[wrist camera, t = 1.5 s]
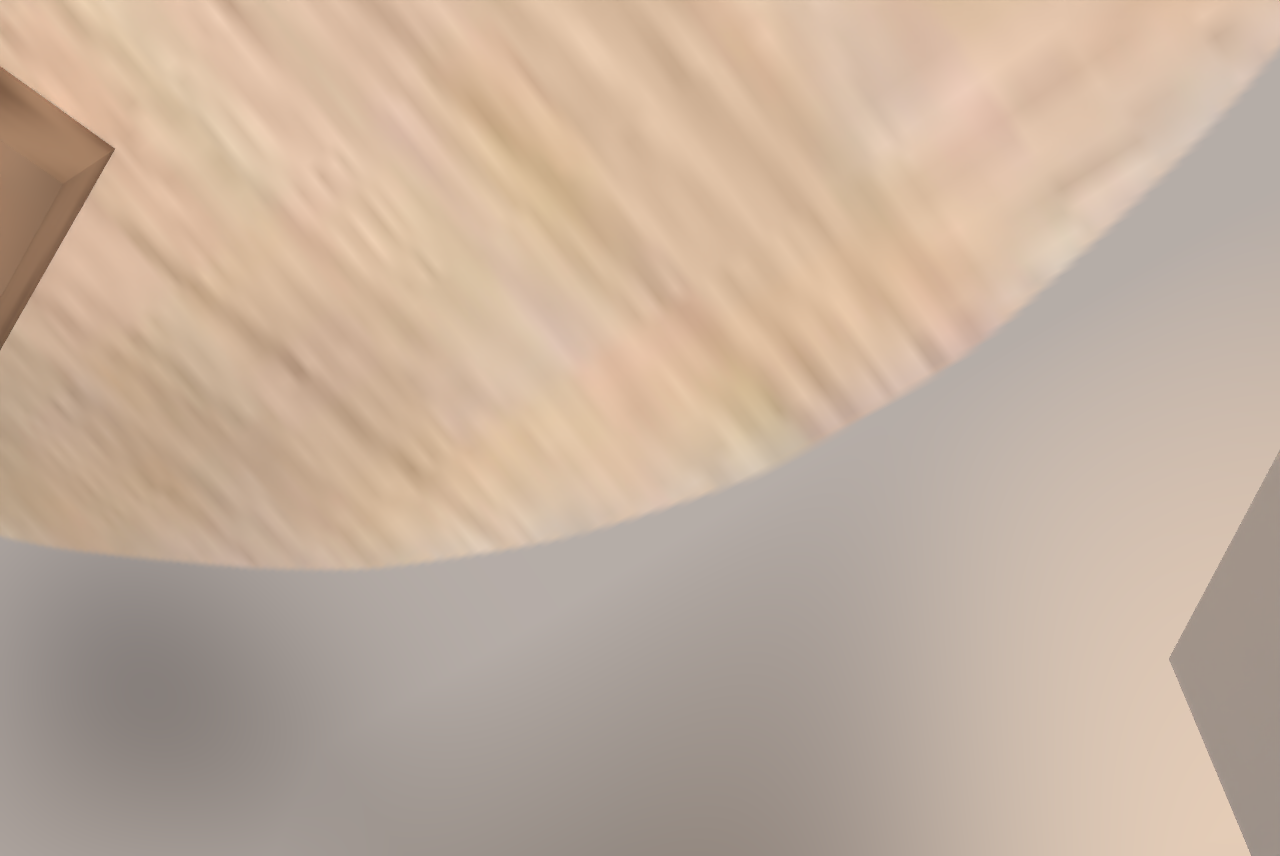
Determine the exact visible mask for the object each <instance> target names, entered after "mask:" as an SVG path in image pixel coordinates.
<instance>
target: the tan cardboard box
mask: <svg viewBox="0 0 1280 856" xmlns="http://www.w3.org/2000/svg"><path fill="white" fill-rule="evenodd" d="M114 150H115V149H114V148H113V147H111V146H110V145H109V144H107V143H106V142H105V141H103V140H102V139H100V138H99V137H98V136H96V135H95V134H93V133H92V132H91V131H89V130H88V129H86V128H85V127H84V126H82V125H81V124H79V123H78V122H77V121H75V120H74V119H72V118H71V117H70V116H68V115H67V114H66V113H64V112H63V111H61V110H60V109H59V108H57V107H56V106H54V105H53V104H52V103H50V102H49V101H47V100H46V99H45V98H43V97H42V96H40V95H39V94H38V93H36V92H35V91H33V90H32V89H31V88H29V87H28V86H27V85H25V84H24V83H22V82H21V81H20V80H18V79H17V78H15V77H14V76H13V75H11V74H10V73H8V72H7V71H6V70H4V69H3V68H1V67H0V349H1V348H2V346H3V344H4V342H5V341H6V339H7V337H8V335H9V334H10V332H11V330H12V328H13V327H14V325H15V323H16V321H17V320H18V318H19V316H20V314H21V313H22V311H23V309H24V307H25V306H26V304H27V302H28V300H29V299H30V297H31V295H32V293H33V292H34V290H35V288H36V286H37V284H38V283H39V281H40V279H41V277H42V276H43V274H44V272H45V270H46V269H47V267H48V265H49V263H50V262H51V260H52V258H53V256H54V255H55V253H56V251H57V249H58V248H59V246H60V244H61V242H62V241H63V239H64V237H65V235H66V234H67V232H68V230H69V228H70V227H71V225H72V223H73V221H74V220H75V218H76V216H77V214H78V213H79V211H80V209H81V207H82V206H83V204H84V202H85V200H86V199H87V197H88V195H89V193H90V192H91V190H92V188H93V186H94V185H95V183H96V181H97V179H98V178H99V176H100V174H101V172H102V171H103V169H104V167H105V165H106V164H107V162H108V160H109V158H110V157H111V155H112V153H113V151H114Z"/></svg>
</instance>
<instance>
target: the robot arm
mask: <svg viewBox="0 0 1280 856" xmlns="http://www.w3.org/2000/svg"><path fill="white" fill-rule="evenodd" d="M1169 660H1170V662H1171V665H1172V667H1173V670H1174V672H1175V674H1176V677H1177V679H1178V681H1179V684H1180V686H1181V689H1182V691H1183V693H1184V696H1185V698H1186V700H1187V703H1188V705H1189V708H1190V710H1191V712H1192V715H1193V717H1194V720H1195V722H1196V725H1197V727H1198V729H1199V731H1200V734H1201V736H1202V739H1203V741H1204V743H1205V746H1206V748H1207V751H1208V753H1209V756H1210V758H1211V760H1212V763H1213V765H1214V767H1215V770H1216V772H1217V775H1218V777H1219V779H1220V782H1221V784H1222V786H1223V789H1224V791H1225V794H1226V796H1227V799H1228V801H1229V803H1230V806H1231V808H1232V810H1233V813H1234V815H1235V818H1236V820H1237V823H1238V825H1239V827H1240V830H1241V832H1242V834H1243V837H1244V839H1245V842H1246V844H1247V846H1248V849H1249V851H1250V853H1251V856H1280V451H1279V453H1278V455H1277V457H1276V458H1275V460H1274V462H1273V464H1272V466H1271V468H1270V470H1269V472H1268V474H1267V475H1266V477H1265V479H1264V481H1263V483H1262V485H1261V487H1260V488H1259V490H1258V492H1257V494H1256V496H1255V498H1254V500H1253V502H1252V504H1251V506H1250V508H1249V509H1248V511H1247V513H1246V515H1245V517H1244V519H1243V521H1242V522H1241V524H1240V526H1239V528H1238V530H1237V532H1236V534H1235V536H1234V538H1233V539H1232V541H1231V543H1230V545H1229V547H1228V549H1227V551H1226V552H1225V555H1224V556H1223V558H1222V560H1221V562H1220V564H1219V566H1218V568H1217V569H1216V571H1215V573H1214V575H1213V577H1212V579H1211V581H1210V583H1209V584H1208V586H1207V588H1206V590H1205V592H1204V594H1203V596H1202V598H1201V600H1200V601H1199V603H1198V605H1197V607H1196V609H1195V611H1194V613H1193V615H1192V616H1191V619H1190V620H1189V622H1188V624H1187V626H1186V628H1185V630H1184V631H1183V633H1182V635H1181V637H1180V639H1179V641H1178V643H1177V645H1176V647H1175V648H1174V650H1173V652H1172V654H1171V656H1170V658H1169Z"/></svg>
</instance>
